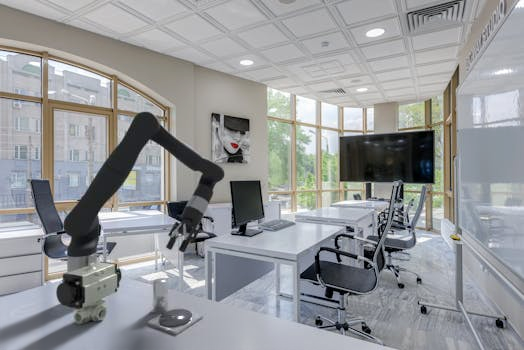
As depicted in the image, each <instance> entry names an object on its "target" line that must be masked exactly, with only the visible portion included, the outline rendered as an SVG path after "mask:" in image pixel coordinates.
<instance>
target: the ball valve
mask: <svg viewBox="0 0 524 350" xmlns="http://www.w3.org/2000/svg"><path fill="white" fill-rule="evenodd" d="M121 280H122V271H121V269H120V267H119V266H118V263H114V262H107V261H99V262H98V261H97V263H95V264H94V263H89V266H86V267H83V268H80V269H77V270H74V271H71V272H68V273H67V272H65V273H63V274H62V279H61V283H59V284H58V285H57V287H56V290H55V291H56V298H57V300H58V302H59V303H60V304H61V305H62V306H65V307H68V308H72V309H78V310H77V311H75V312H74V315H73V319H74V322H75V323H76V324H79V325H80V324H86V323H88V322H89V321H93V322H98V321H101V320H103V319H105V317H106V316H107V313H108V310H107V309H108V307H109V305H108V302H107V301H106V299H105V298H107V297H109V296H111V295H114V293H117V292H118V288H120V282H121Z"/></svg>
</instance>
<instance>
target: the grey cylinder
mask: <svg viewBox="0 0 524 350" xmlns="http://www.w3.org/2000/svg"><path fill="white" fill-rule="evenodd" d="M152 288H153V290H152V291H153V292H152V300H153V301H152V302H153V303H152V307H153V309H152V312H153V313H156V314H163V313H165V312H166V311H168V310H169V279H168V278H165V277H159V278H155V279H154V280H153V281H152Z"/></svg>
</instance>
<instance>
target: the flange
mask: <svg viewBox="0 0 524 350" xmlns="http://www.w3.org/2000/svg"><path fill="white" fill-rule="evenodd" d="M201 319H204V314H203V313H199V312H195V311H192V310H188V309H185V308H182V307H179V306H174V307H172V308H170V309H168V310H167V311H165V312H163V313H160V314H159V315H158V316H155V317H154V318H152V319H151V320H148V321H147V323H146V324H147V326H151V327H153V328H156V329H159V330H161V331H163V332H166V333H169V334H172V335H175V336H177V335H178V334H180V333H181V332H183V331H184V330H186V329H188V328H189V327H190V326H192V325H194V324H195V323H197V322H198V321H199V320H201Z"/></svg>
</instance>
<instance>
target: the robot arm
mask: <svg viewBox="0 0 524 350" xmlns="http://www.w3.org/2000/svg"><path fill="white" fill-rule="evenodd" d="M149 141H152V142H153V143H156V144H158V146H160V147H161V148H163V149H165V150H166V151H167V152H169V154H171V155H172V156H173V157H174V158H175V159H176V160H177V161H179V162H180V163H182V164H183V165H184V166H185V167H187V168H188V169H190V170H192V171H193V172H199V173H201V175H200V178H199V181H198V183H197V187H196V188H195V189H194V192H193V193H192V195H191V197H190V198H189V200H188V202H187V204H186V205H185V207H184V209H183V211H182V213H181V215H180V219H181V221H180V222H178V221H175V223H174V224H173V226H172V228H171V229H170V231H169V233H168V236H169V240H168V242H167V244H166V245H165V246H166V247H165V248H166V249H167V250H171V251H172V249H173V248H174V246H175V243H176V241H178V239H179V238H181V237H183V240H182V242H181V244H180V246H179V247H178V251H179V252H181V253H185V252H186V250H187V249H188V246H189V244H191V242H192V243H193V242H195V241H196V239H197V236H198V235H199V232H200V230H201V226H200V224H201V221H202V220H203V217H204V216H205V213H206V212H207V209H208V206H209V204H210V202H211V200H212V197H213V195H214V188H215V186H216V184H217V183H219V182H221V181H222V180H223V179H224V177H225V170H224V168H223V167H222V166H221V165H220V164H218V163H217V162H215V161H213V160H211V159H210V158H207V157H204V156H203V155H202V154H201V153H199V152H198V151H197V150H195V149H194V148H193V147H191V146H190V145H188V144H187V143H185V142H184V141H182V140H181V139H180V138H178V137H176V136H175V135H174V134H172V133H171V132H169V131H168V130H167V128H166V127H164V126H163V125H162V124H161V122H159V119H158V117H157V115H155V114H154V113H152V112H150V111H140V112H139V113H137V114H135V116H134V117H133V119H132V120H131V122H130V125H129V127H128V129H127V130H126V132H125V134H124V136H123V138H122V139H121V141H120V142H119V144H117V146H116V147H115V148H114V149H113V150H112V152H111V153H110V154H109V156H108V157H107V159H105V161H104V163H102V165H101V167H100V168H99V170H98V172H97V173H96V175H95V176H94V178H93V179H92V181H91V183H90V184H89V186H88V187H87V189H86V191H85V193H84V195H83V196H82V197H81V199H80V200H79V201H78V202H77V203H76V205H75V206H74V207H73V208H72V209H71V210H70V211H69V213H68V214H67V215H66V216H65V218H64V220H63V226H62V227H63V229H64V232H65V234H66V235H68V236H69V237H70V242H69V244H68V246H67V249H66V254H67V255H66V258H67V260H66V264H67V266H66V267H67V272H66V273H68V272H71V271H74V270H77V269H80V268H83V267H86V266H89V263H94V264H95V263H98V245H99V239H100V238H99V236H100V218H99V216H98V215H99V213H100V212H101V210H102V208H103V207H104V206H105V204H106V203H107V202H108V201H109V200H110V199H111V198H112V197H113V196H114V195H115V194H116V193H117V192H118V190H120V189H121V187H122V186H123V185H124V183H125V182H126V180H127V179H128V178H129V175H130V174H131V173H132V170H133V169H134V166H135V164H136V163H137V160H138V158H139V156H140V153H141V152H142V150H144V147H146V145H147V143H148V142H149Z"/></svg>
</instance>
